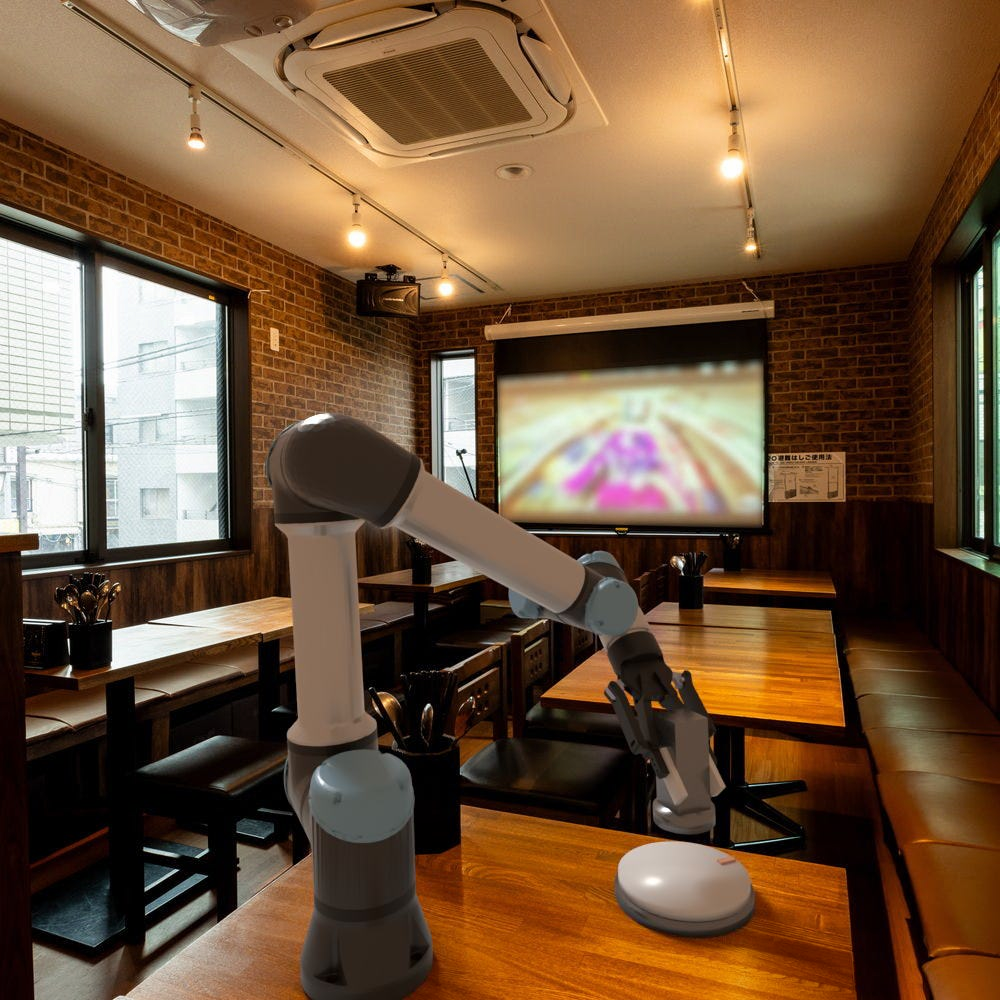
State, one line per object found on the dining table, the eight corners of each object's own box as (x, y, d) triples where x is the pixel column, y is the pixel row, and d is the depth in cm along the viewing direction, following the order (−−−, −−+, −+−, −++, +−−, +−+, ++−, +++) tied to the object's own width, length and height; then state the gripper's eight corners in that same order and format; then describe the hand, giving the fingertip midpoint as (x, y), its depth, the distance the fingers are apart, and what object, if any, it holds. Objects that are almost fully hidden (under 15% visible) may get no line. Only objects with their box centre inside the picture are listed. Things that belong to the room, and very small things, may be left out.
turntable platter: (665, 935, 88) (664, 920, 88) (595, 867, 104) (595, 854, 103) (779, 902, 94) (779, 888, 94) (697, 842, 110) (697, 830, 110)
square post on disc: (675, 839, 94) (671, 729, 93) (642, 813, 101) (638, 711, 101) (728, 826, 96) (724, 719, 96) (691, 802, 104) (688, 703, 104)
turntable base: (664, 953, 87) (663, 940, 87) (591, 878, 104) (590, 867, 104) (785, 916, 94) (785, 904, 94) (698, 851, 110) (698, 841, 110)
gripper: (671, 650, 116) (744, 795, 101) (566, 664, 109) (628, 821, 94) (690, 622, 111) (771, 770, 96) (582, 635, 104) (650, 796, 89)
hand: (700, 795), depth 95 cm, fingers closed on square post on disc, 5 cm apart
